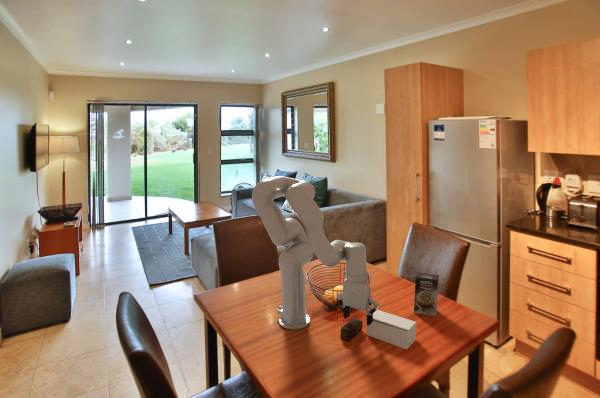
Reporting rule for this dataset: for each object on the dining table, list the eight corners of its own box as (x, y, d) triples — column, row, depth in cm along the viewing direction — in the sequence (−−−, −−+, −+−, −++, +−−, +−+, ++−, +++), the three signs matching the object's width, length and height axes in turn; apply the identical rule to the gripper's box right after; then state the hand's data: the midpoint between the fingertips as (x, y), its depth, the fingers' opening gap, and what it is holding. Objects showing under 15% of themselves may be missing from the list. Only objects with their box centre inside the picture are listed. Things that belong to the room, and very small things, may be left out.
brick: (349, 342, 132) (349, 331, 131) (340, 339, 135) (340, 327, 134) (362, 330, 141) (363, 319, 140) (353, 327, 143) (353, 316, 142)
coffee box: (413, 313, 153) (414, 277, 150) (414, 306, 158) (416, 271, 156) (436, 317, 149) (438, 280, 146) (437, 310, 155) (438, 274, 152)
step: (366, 334, 137) (366, 316, 136) (376, 326, 143) (376, 308, 142) (406, 349, 127) (407, 330, 126) (415, 339, 133) (416, 321, 132)
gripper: (331, 275, 135) (333, 318, 138) (372, 284, 124) (374, 331, 127) (342, 269, 141) (343, 310, 143) (382, 277, 130) (383, 322, 133)
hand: (358, 320), depth 135 cm, fingers open, 9 cm apart
